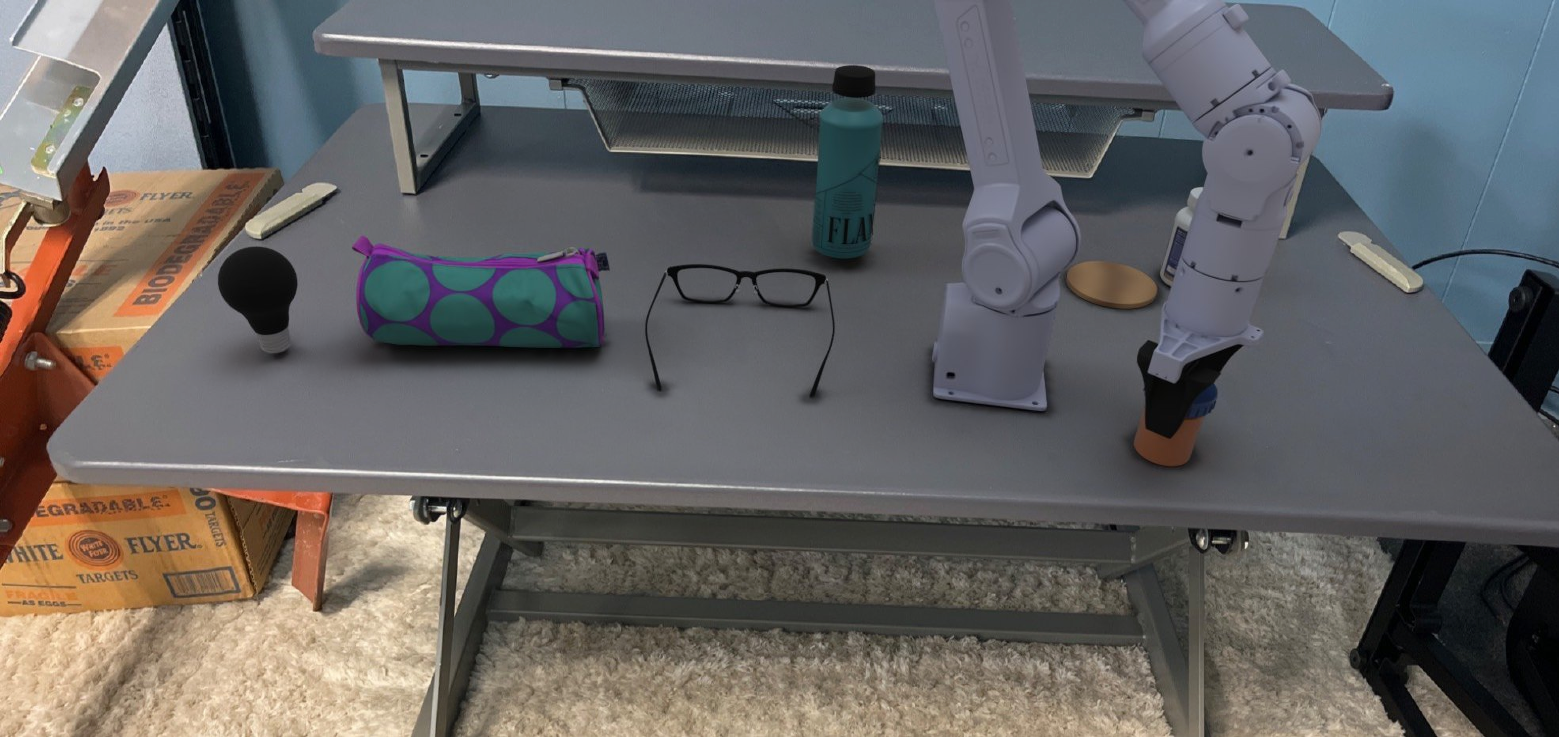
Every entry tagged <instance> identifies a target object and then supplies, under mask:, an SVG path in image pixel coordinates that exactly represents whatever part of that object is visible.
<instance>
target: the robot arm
mask: <svg viewBox="0 0 1559 737" xmlns="http://www.w3.org/2000/svg"><path fill="white" fill-rule="evenodd" d="M1122 1H1123V2H1124V3H1125V5H1126V6H1127V7H1128V8H1129V9H1130V11H1131V12H1132V13H1133V14H1134V15H1135V17H1136V18H1137V19H1138V20H1139V21H1140V22H1141V24H1142V26H1143V37H1142V38H1143V39H1142V46H1141V57H1142V58H1143V60H1144V61H1145V62H1146V64H1147V65H1148V66H1149V67H1150V69H1151V70H1152V71H1153V73H1154V74H1155V76H1156V77H1157V78H1158V80H1159V81H1160V82H1161V84H1162V85H1163V86H1164V88H1165V89H1166V91H1167V92H1168V93H1169V95H1170V97H1172V99H1173V100H1174V101H1175V103H1176V104H1177V106H1178V107H1179V108H1180V109H1181V111H1182V112H1183V114H1184V115H1185V116H1186V118H1187V119H1188V121H1189V122H1190V123H1191V124H1192V127H1194V129H1195V130H1196V131H1197V132H1198V133H1200V134H1201V135H1202V136H1204V138H1205V139H1204V140H1203V142H1202V148H1201V156H1202V158H1201V159H1202V163H1203V166H1204V169H1205V172H1206V178H1205V181H1204V185H1203V186H1202V187H1203V190H1202V192H1201V193H1200V195H1199V197H1198V200H1197V203H1196V207H1195V210H1194V213H1193V217H1192V220H1191V223H1190V227H1189V230H1188V233H1187V237H1186V240H1185V243H1184V247H1183V250H1182V253H1181V257H1180V260H1179V263H1178V266H1177V270H1176V273H1175V276H1174V280H1173V283H1172V286H1170V290H1169V293H1168V297H1167V299H1166V301H1164V303H1163V305H1162V308H1161V310H1160V313H1159V326H1158V327H1159V328H1158V340H1157V342H1155V341H1153V340H1150V339H1148V340H1146V341H1145V342H1144V343H1143V344H1142V345H1141V346H1140V347H1139V348H1138V350H1137V355H1136V363H1137V366H1138V368H1139V370H1140V373H1141V377H1142V381H1143V385H1144V386H1145V392H1144V394H1145V395H1144V406H1145V428H1146V429H1147V430H1149V431H1152V432H1154V433H1156V434H1159V435H1161V436H1163V437H1166V438H1168V439H1171V438H1172V437H1173V436H1174V434H1175V433H1176V432H1177V431H1178V429H1179V428H1180V426H1181V425H1182V423H1183V421H1184V420H1185V418H1186V416H1187V414H1188V412H1189V410H1190V409H1191V407H1192V405H1193V403H1194V402H1195V400H1196V399H1197V397H1198V396H1199V395H1200V394H1201V393H1202V392H1204V391H1205V390H1206V389H1207V388H1208V387H1209V386H1211V385H1212V384H1213V383H1214V384H1215V382H1216V381H1217V380H1218V379H1219V377H1220V376H1221V375H1222V373H1221V372H1222V370H1223V369H1224V367H1225V366H1226V364H1227V363H1228V362H1229V360H1230V359H1231V358H1232V357H1233V356H1234V355H1235V354H1236V353H1237V352H1238V351H1239V350H1241V349H1242V348H1243V347H1247V348H1255V347H1257V346H1258V344H1259V343H1260V342H1261V341H1262V340H1263V336H1264V332H1265V331H1264V330H1263V329H1262V328H1260V327H1258V326H1255V325H1253V324H1251V323H1250V322H1251V321H1250V319H1251V316H1252V313H1253V310H1254V308H1255V305H1256V302H1257V299H1258V296H1259V294H1260V291H1261V288H1262V285H1263V283H1264V281H1265V280H1264V279H1265V277H1266V274H1267V271H1268V269H1269V266H1270V264H1271V261H1272V258H1273V256H1274V252H1275V250H1276V246H1277V244H1278V241H1279V238H1280V236H1281V233H1282V230H1283V227H1284V224H1285V221H1286V219H1287V216H1288V204H1290V202H1291V200H1292V198H1293V195H1294V191H1295V184H1296V181H1297V179H1298V176H1299V175H1298V171H1299V169H1300V167H1301V166H1302V165H1303V163H1305V161H1306V160H1307V159H1308V158H1309V157H1310V156H1311V154H1312V153H1313V152H1314V150H1315V148H1316V147H1317V144H1318V143H1319V140H1320V137H1321V134H1322V127H1323V126H1322V125H1323V124H1322V117H1321V116H1322V115H1321V114H1320V111H1319V108H1318V107H1317V105H1316V103H1315V99H1314V96H1313V94H1312V93H1311V92H1310V91H1309V90H1307V89H1305V88H1304V87H1302V86H1299V85H1297V84H1293V83H1291V82H1292V79H1291V77H1290V76H1289V75H1288V73H1287V72H1286V70H1284V69H1280V70H1279V71H1276V70H1275V69H1274V67H1273V66H1272V65H1271V64H1270V62H1269V61H1268V59H1267V58H1266V57H1265V56H1264V54H1263V53H1262V51H1261V50H1260V49H1259V47H1258V46H1257V44H1256V43H1255V42H1254V41H1253V39H1252V38H1251V36H1250V35H1249V34H1248V32H1246V30H1245V29H1244V27H1243V25H1244V24H1245V23H1246V22H1248V21H1249V20H1250V18H1249V16H1248V14H1247V13H1246V11H1245V10H1244V9H1243V7H1242V6H1241V4H1239V3H1235V4H1234V5H1231V6H1230V7H1229V6H1228V5H1227V4H1226V2H1225V1H1224V0H1122ZM933 4H934V9H935V13H936V14H935V15H936V18H937V23H938V27H939V28H938V29H939V33H940V36H941V42H942V45H943V50H944V51H943V52H944V55H945V59H946V60H945V61H946V64H947V69H948V73H949V74H948V75H949V78H950V82H951V83H950V84H951V88H952V92H953V93H952V94H953V97H954V101H955V107H956V111H957V115H958V120H959V125H960V130H961V133H962V138H963V143H964V147H965V153H966V157H967V162H968V166H969V169H970V170H969V171H970V174H971V179H972V180H971V181H972V184H973V192H972V196H971V199H970V201H969V204H968V207H967V209H966V212H965V215H964V218H963V221H962V224H961V227H962V232H963V237H964V252H963V256H962V259H961V275H962V280H963V281H962V282H949V283H946V284H945V288H944V295H943V301H942V307H941V314H940V320H939V326H938V334H937V338H936V339H937V341H936V340H935V341H933V347H932V356H931V362H932V363H934V369H933V370H934V371H933V389H932V390H933V391H932V396H933V397H934V398H935V399H940V400H947V401H955V402H964V403H973V404H980V405H989V406H995V407H996V406H997V407H1006V408H1013V409H1021V410H1029V411H1037V412H1038V411H1039V412H1044V411H1046V410H1047V408H1048V400H1047V399H1048V398H1047V391H1046V382H1045V381H1046V380H1045V372H1044V368H1045V363H1046V359H1047V354H1048V350H1049V346H1050V341H1051V337H1052V333H1053V329H1054V324H1055V319H1056V315H1057V310H1058V306H1059V301H1060V298H1061V288H1060V276H1061V271H1063V270H1066V269H1067V268H1068V267H1069V266H1070V265H1071V264H1073V263H1074V261H1076V259H1077V257H1078V255H1079V253H1080V251H1081V246H1082V245H1081V244H1082V234H1081V229H1080V226H1079V223H1078V221H1077V220H1076V218H1075V216H1074V215H1073V214H1072V213H1071V212H1070V211H1069V210H1070V209H1068V207H1067V205H1066V202H1065V200H1064V196H1063V191H1062V187H1061V184H1060V183H1059V182H1057V181H1056V180H1055V179H1054V178H1053V177H1052V176H1050V175H1049V174H1048V173H1047V172H1046V171H1045V170H1044V166H1043V162H1042V156H1041V152H1040V151H1041V150H1040V147H1039V142H1038V135H1037V131H1036V126H1035V121H1034V116H1033V110H1032V105H1031V100H1030V95H1029V90H1028V89H1029V88H1028V83H1027V79H1026V74H1025V67H1024V63H1023V57H1022V54H1021V47H1020V42H1019V37H1018V31H1017V26H1016V22H1015V16H1014V10H1013V5H1012V1H1011V0H933ZM1144 386H1143V387H1144Z"/></svg>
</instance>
